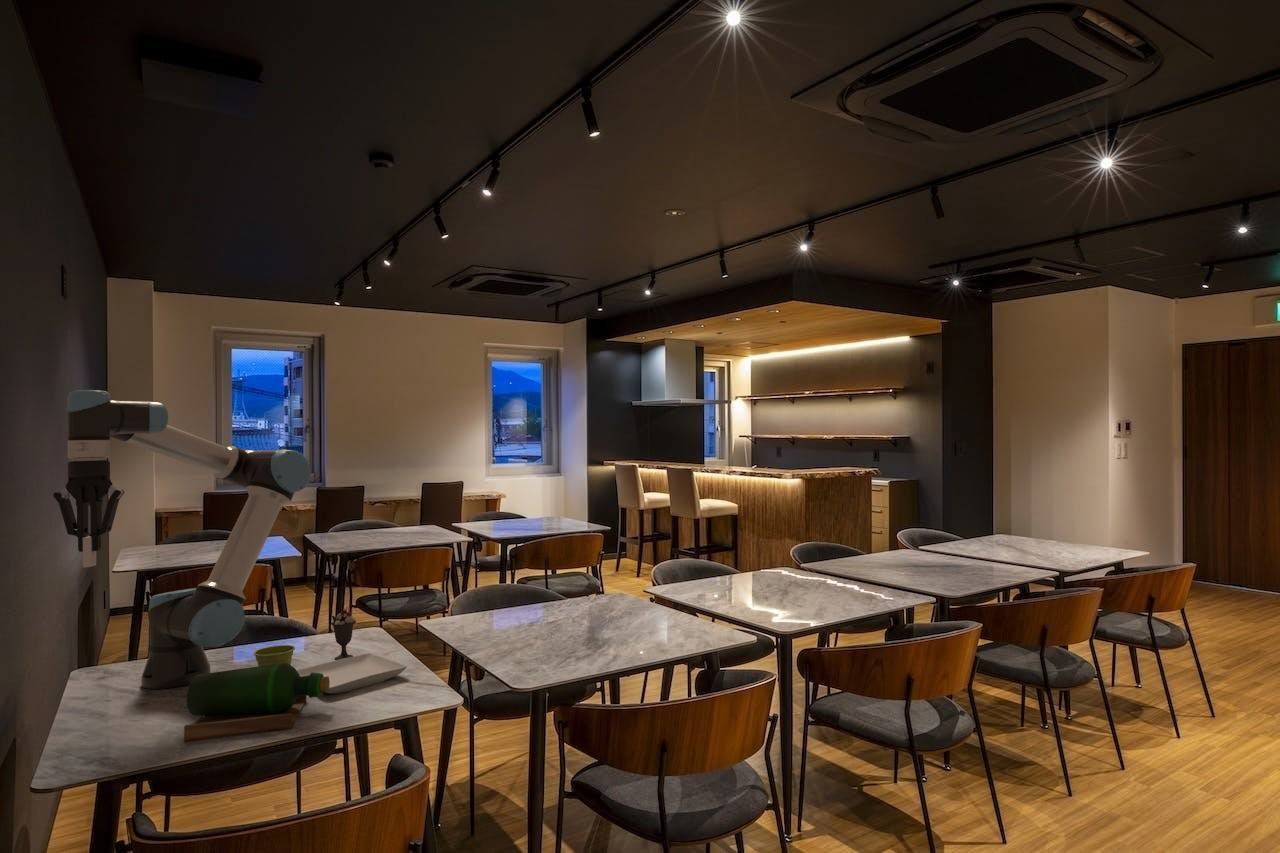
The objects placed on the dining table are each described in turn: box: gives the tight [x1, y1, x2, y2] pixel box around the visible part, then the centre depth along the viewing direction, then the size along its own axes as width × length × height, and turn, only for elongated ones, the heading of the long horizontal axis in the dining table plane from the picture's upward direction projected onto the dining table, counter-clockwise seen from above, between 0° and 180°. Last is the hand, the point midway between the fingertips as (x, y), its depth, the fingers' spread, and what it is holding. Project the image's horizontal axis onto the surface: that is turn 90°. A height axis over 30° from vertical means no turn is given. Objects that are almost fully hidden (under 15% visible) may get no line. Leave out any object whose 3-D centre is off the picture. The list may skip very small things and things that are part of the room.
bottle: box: [185, 663, 330, 717], centre depth 162 cm, size 11×11×28 cm
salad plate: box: [296, 652, 407, 694], centre depth 185 cm, size 21×21×3 cm
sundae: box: [329, 603, 357, 661], centre depth 205 cm, size 7×7×15 cm
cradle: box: [183, 696, 307, 742], centre depth 159 cm, size 18×20×3 cm
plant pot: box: [253, 644, 296, 667], centre depth 183 cm, size 9×9×9 cm
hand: (89, 566), depth 160 cm, fingers closed
